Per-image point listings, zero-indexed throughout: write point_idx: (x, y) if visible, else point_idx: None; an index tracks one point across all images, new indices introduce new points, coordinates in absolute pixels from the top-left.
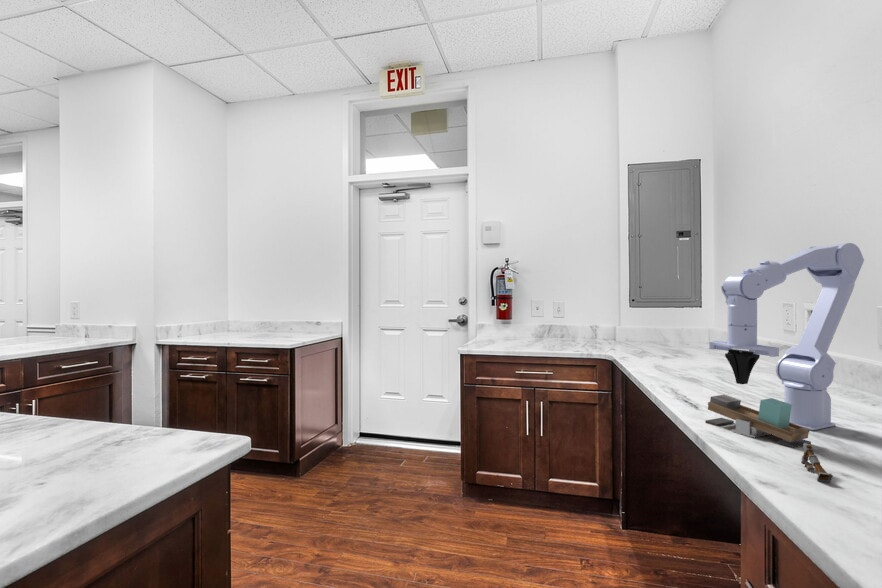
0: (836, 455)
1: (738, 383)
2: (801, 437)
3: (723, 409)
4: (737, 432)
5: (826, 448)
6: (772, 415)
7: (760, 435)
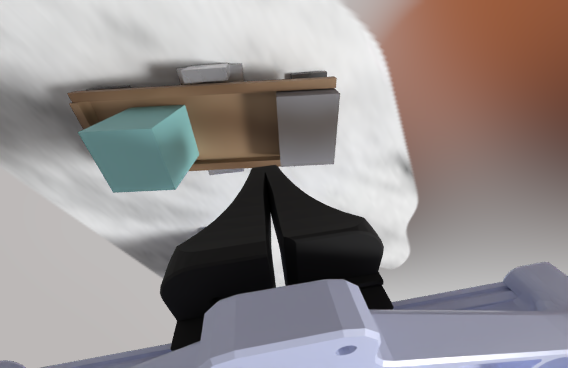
0: (38, 134)
1: (268, 166)
2: None
3: (277, 80)
4: (223, 63)
5: (93, 159)
6: (128, 117)
7: None
